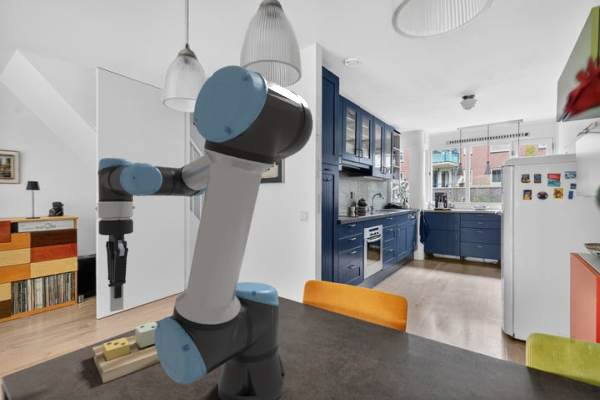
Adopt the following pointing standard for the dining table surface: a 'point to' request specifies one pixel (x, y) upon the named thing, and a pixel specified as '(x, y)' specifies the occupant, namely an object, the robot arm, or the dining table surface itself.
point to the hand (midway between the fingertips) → (116, 309)
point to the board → (125, 360)
